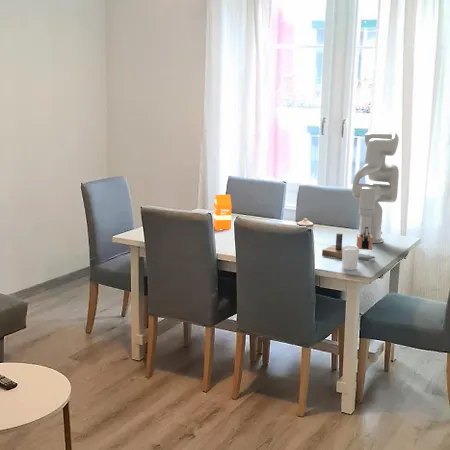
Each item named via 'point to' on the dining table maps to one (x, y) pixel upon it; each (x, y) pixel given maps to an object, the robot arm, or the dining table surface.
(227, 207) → the orange juice
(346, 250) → the white cup
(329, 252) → the post base
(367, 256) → the coaster
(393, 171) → the robot arm
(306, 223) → the teacup with lid
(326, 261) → the dining table surface
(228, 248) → the dining table surface
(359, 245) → the peach cube
